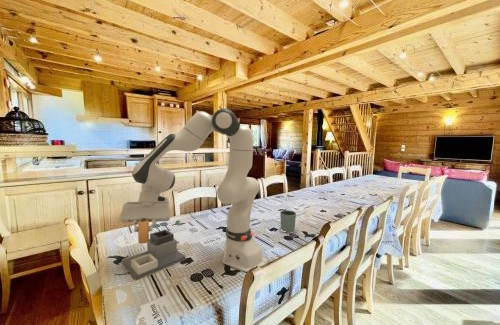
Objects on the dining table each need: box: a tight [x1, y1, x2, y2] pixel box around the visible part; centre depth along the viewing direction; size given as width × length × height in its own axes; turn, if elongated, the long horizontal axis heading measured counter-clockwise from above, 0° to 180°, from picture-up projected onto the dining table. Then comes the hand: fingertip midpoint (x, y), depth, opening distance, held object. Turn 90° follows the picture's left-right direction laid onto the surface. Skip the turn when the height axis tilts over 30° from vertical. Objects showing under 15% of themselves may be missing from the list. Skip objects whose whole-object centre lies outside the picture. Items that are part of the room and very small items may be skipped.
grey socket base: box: [121, 228, 186, 281], centre depth 99 cm, size 17×22×10 cm
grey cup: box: [280, 209, 297, 233], centre depth 139 cm, size 10×10×12 cm
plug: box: [137, 218, 150, 245], centre depth 91 cm, size 4×4×10 cm
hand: (143, 231), depth 91 cm, fingers closed on plug, 4 cm apart
